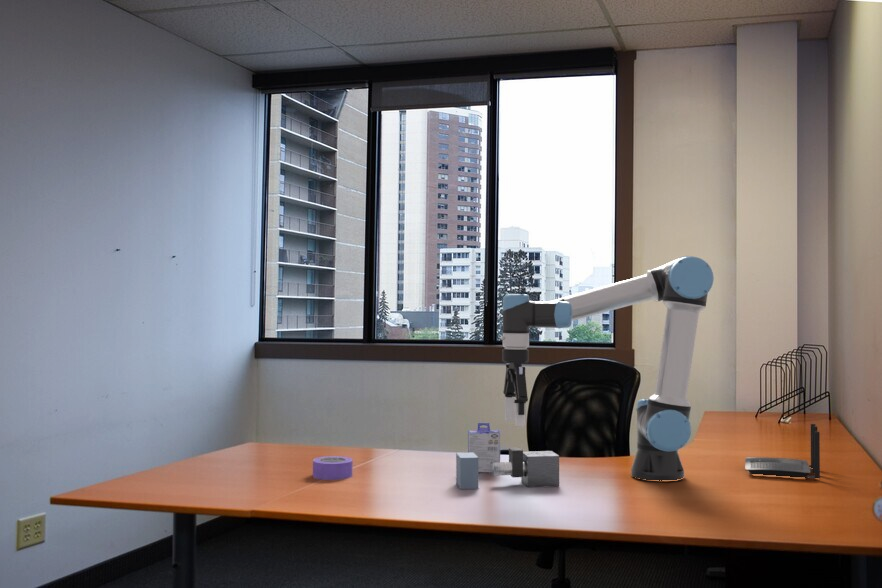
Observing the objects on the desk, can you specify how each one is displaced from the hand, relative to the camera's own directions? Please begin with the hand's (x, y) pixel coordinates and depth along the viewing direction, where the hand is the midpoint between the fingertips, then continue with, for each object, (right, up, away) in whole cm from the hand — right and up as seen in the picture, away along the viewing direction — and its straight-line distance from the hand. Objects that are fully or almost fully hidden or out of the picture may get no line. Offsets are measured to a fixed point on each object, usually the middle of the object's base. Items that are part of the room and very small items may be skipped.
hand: (514, 423), depth 233 cm
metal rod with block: (+3, -15, 0) cm, 15 cm away
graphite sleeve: (+7, -17, +1) cm, 19 cm away
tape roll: (-53, -18, +12) cm, 57 cm away
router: (+82, -18, +16) cm, 85 cm away
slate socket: (-14, -17, -2) cm, 22 cm away
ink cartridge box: (-8, -18, +19) cm, 27 cm away
